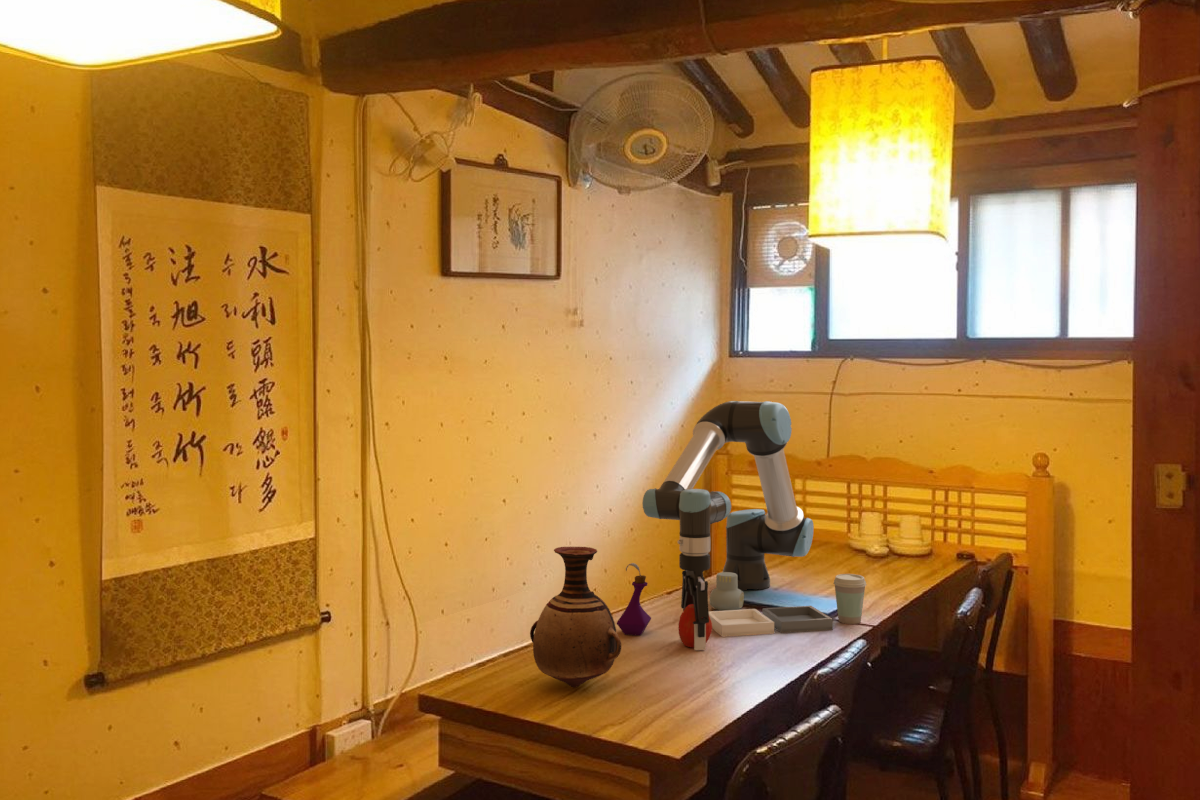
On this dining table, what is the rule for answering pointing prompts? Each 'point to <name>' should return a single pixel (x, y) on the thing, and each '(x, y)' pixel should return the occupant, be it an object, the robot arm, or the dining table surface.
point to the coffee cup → (849, 597)
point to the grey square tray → (798, 619)
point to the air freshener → (726, 592)
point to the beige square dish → (741, 622)
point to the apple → (690, 626)
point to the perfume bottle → (635, 609)
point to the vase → (575, 627)
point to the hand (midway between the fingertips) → (694, 644)
